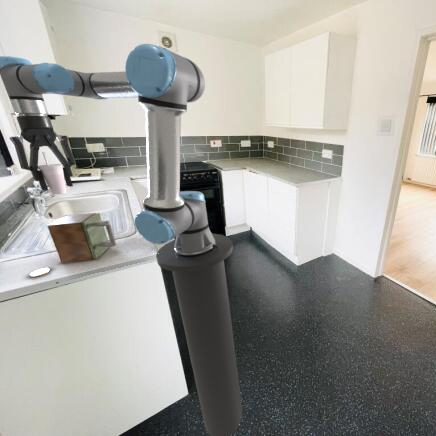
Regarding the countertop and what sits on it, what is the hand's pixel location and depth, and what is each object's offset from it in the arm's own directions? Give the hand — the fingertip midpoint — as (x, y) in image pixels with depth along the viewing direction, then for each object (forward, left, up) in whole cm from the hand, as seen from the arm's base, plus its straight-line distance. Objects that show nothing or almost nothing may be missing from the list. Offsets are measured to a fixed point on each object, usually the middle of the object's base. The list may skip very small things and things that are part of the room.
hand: (58, 187), depth 84 cm
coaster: (+8, +10, -27) cm, 30 cm away
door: (-9, -2, -27) cm, 29 cm away
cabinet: (0, -2, -27) cm, 27 cm away
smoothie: (0, 0, -2) cm, 2 cm away
